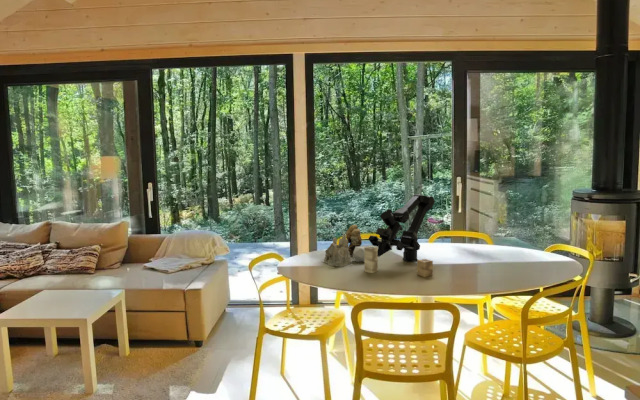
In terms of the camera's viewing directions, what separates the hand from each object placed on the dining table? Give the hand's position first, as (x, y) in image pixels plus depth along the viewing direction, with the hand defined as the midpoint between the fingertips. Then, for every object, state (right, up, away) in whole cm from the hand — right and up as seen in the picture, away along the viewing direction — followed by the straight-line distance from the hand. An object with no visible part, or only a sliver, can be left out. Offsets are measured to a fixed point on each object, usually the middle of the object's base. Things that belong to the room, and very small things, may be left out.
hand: (378, 256), depth 226 cm
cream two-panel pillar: (-4, -7, -3) cm, 9 cm away
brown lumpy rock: (-8, -3, +38) cm, 39 cm away
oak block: (+21, -8, -11) cm, 25 cm away
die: (-7, -5, +19) cm, 21 cm away
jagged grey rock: (-20, -6, +17) cm, 27 cm away
